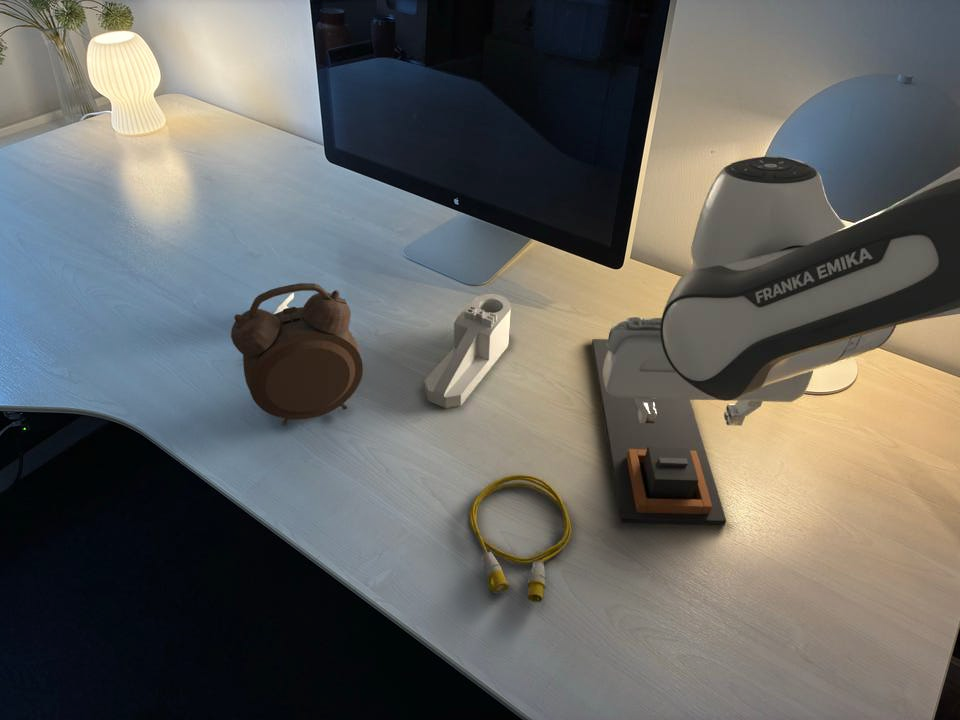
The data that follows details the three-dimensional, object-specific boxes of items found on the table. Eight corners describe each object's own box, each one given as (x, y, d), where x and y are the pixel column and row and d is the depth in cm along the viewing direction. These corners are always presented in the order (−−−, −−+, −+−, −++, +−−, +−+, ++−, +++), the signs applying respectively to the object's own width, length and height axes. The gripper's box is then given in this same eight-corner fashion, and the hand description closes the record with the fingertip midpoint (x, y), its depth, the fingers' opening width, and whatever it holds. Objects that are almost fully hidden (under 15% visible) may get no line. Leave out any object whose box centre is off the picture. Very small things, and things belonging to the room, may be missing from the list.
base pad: (724, 525, 79) (730, 513, 77) (620, 523, 79) (624, 510, 77) (671, 346, 103) (674, 333, 101) (591, 343, 103) (593, 331, 101)
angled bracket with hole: (419, 397, 93) (417, 353, 88) (481, 325, 105) (483, 283, 100) (455, 412, 91) (455, 368, 86) (514, 337, 103) (517, 295, 98)
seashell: (285, 352, 105) (269, 344, 97) (260, 332, 106) (241, 322, 98) (318, 312, 106) (305, 301, 98) (293, 292, 107) (277, 279, 99)
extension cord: (433, 566, 74) (433, 556, 73) (499, 467, 85) (499, 456, 83) (535, 617, 70) (536, 607, 69) (590, 506, 80) (593, 496, 79)
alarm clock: (356, 376, 96) (340, 257, 83) (371, 411, 91) (355, 289, 78) (251, 403, 92) (216, 282, 79) (260, 441, 87) (224, 318, 74)
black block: (682, 468, 84) (690, 444, 81) (690, 501, 80) (699, 478, 77) (641, 467, 84) (648, 443, 81) (648, 500, 80) (655, 477, 77)
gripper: (616, 338, 63) (596, 439, 72) (838, 344, 63) (790, 444, 72) (608, 298, 67) (590, 397, 77) (814, 303, 67) (772, 402, 77)
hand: (688, 420), depth 74 cm, fingers open, 8 cm apart
